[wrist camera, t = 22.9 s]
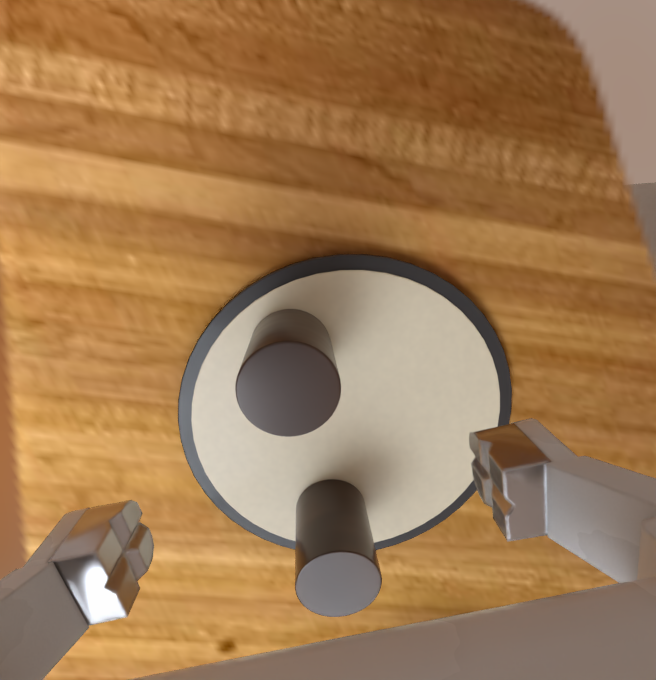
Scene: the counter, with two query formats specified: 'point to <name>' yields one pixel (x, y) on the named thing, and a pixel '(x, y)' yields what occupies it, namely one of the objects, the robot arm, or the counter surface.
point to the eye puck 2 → (334, 550)
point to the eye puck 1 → (289, 375)
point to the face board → (351, 398)
